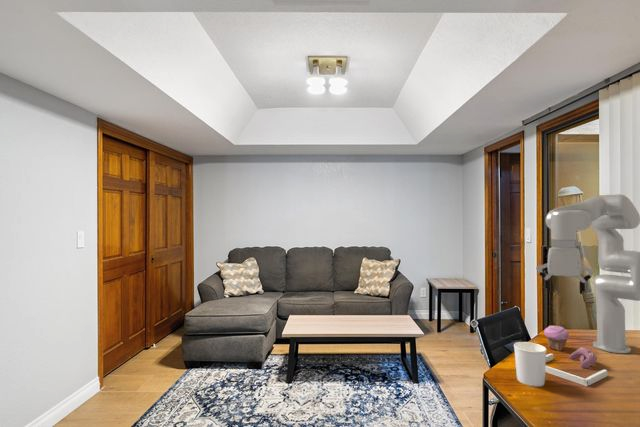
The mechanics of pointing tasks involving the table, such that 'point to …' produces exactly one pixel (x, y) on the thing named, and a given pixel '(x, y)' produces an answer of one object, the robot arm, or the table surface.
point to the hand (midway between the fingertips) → (564, 291)
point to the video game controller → (584, 357)
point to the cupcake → (556, 337)
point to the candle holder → (530, 363)
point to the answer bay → (575, 378)
